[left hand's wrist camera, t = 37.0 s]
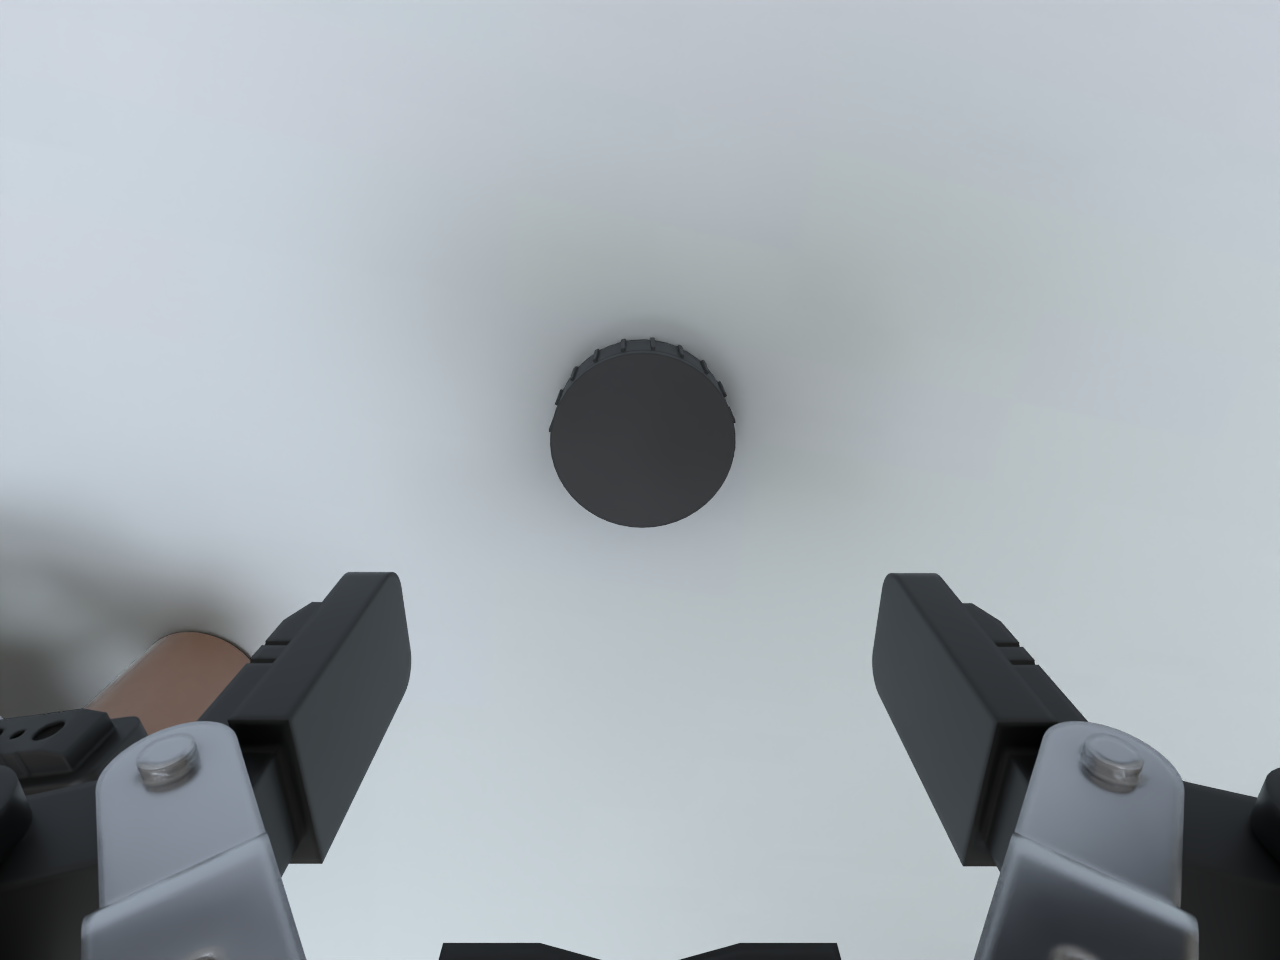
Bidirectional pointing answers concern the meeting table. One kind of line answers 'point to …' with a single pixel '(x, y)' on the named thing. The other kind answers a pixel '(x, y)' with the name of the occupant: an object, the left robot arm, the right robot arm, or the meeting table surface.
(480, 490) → the meeting table surface
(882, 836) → the meeting table surface
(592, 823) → the meeting table surface
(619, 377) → the lid
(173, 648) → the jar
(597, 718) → the meeting table surface
